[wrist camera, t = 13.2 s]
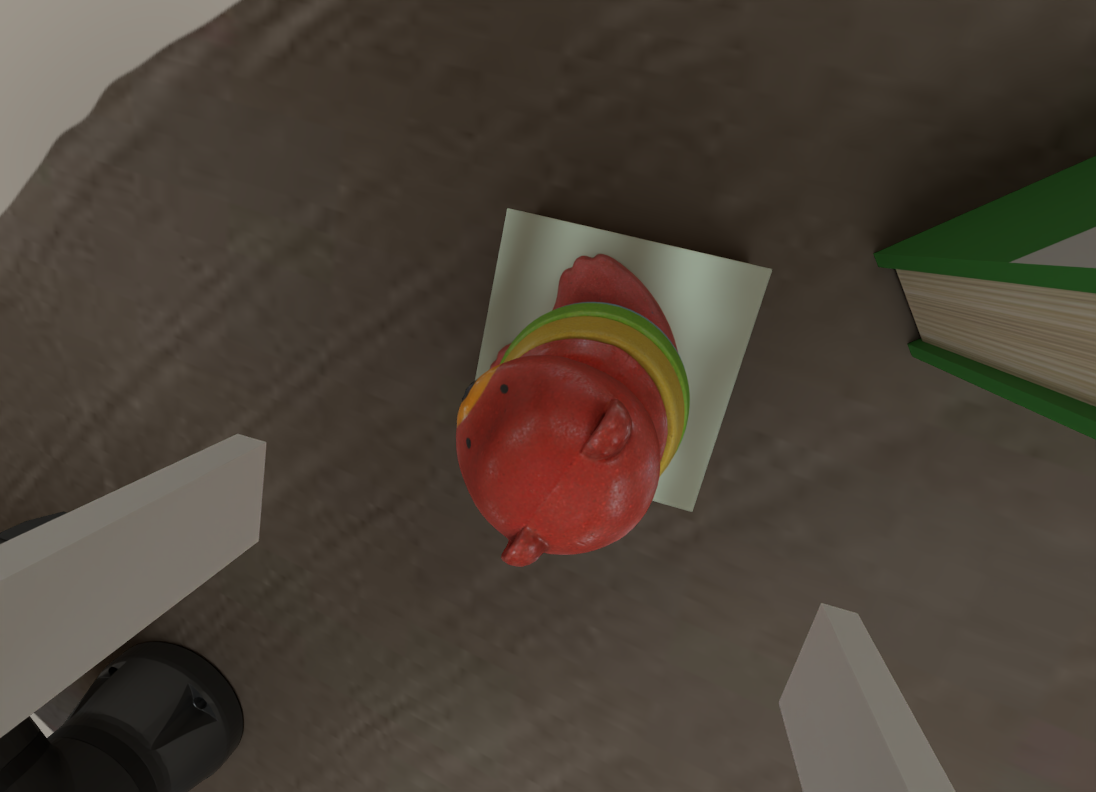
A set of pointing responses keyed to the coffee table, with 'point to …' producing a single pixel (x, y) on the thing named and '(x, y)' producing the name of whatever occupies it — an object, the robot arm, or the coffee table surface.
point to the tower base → (683, 295)
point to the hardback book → (1013, 296)
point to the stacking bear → (576, 417)
